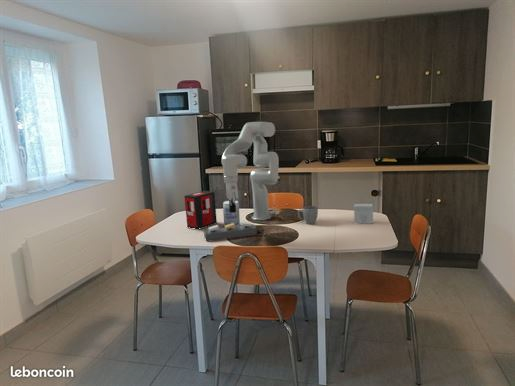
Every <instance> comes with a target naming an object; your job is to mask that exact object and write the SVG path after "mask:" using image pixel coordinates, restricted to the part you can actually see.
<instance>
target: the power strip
mask: <svg viewBox="0 0 515 386" xmlns="http://www.w3.org/2000/svg"><path fill="white" fill-rule="evenodd" d="M264 230H265V229H264V228H259V229H257V227H256V225H254V223H251V226H242V225H239V226H235V227H232V228H229V229H226V228H225V227H219V229H216V230H213V231H209V229H205V230H203V236H204V240H205V239H206V240H205V241H206V242H210V241H209V240H214V241H219V240H220V241H221V240H228V239H227V238H229V239H235V238H234V237H236V238H243V237H250V236H257V235H258V233H259V232H264Z"/></svg>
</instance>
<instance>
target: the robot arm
mask: <svg viewBox="0 0 515 386" xmlns="http://www.w3.org/2000/svg"><path fill="white" fill-rule="evenodd" d="M275 133H276V127H275V124H274V123H272V122H268V121H251V122H246V123H245V124H244V125H243V127H242V128H241V132H240V134H239V136H238V138H237V139H236V140H235V141H233V142H232V143H230V144H229V145H228V146H227V147H226V148H225V150H224V152H223V154H222V156H221V159H220V160H221V162H220V163H221V165H222V169H223V170H222V171H223V183H225V190H226V191H225V193H226V199H228V201H229V209H230V213H233V212H236V205H235V201H239V199H240V198H239V188H238V182H239V177H238V176H239V174H238V169H242V168H245V167H246V166H247V164H248V158H247V157H246V156H245V154H241V153H240V152H243V151H246V150H249V149H250V148H251V146H252V145H253V157H252V158H253V159H252V160H253V165H254V166H255V167H258V168H257V169H256V168H255V169H252V171H250V175H249V177H250V179H249V180H250V182H251V189H252V204H253V215H252V216H251V219H252V220H253V221H268V220H271V218H272V215H276V214H277V211H276V210H274V211H273V210H269V195H268V193H269V192H268V189H267V187H266V185H271V186H272V185H275V184H277V183H278V179H279V161H280V160H279V155H278V153H277V152H276V151H268V143H267V141H266V139H265V138H266V137H268V138H269V137H273V136H274V135H275ZM239 153H240V154H239ZM268 168H269V169H268ZM267 219H268V220H267Z"/></svg>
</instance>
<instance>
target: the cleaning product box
mask: <svg viewBox="0 0 515 386" xmlns="http://www.w3.org/2000/svg"><path fill="white" fill-rule="evenodd" d="M184 205H185V206H184V207H185V216H186V225H187V227H190V228H195V229H199V228H202V227H204V228H206V227H205V226H207V227H209V226H208V225H210V226H212V225H211V224H213V225H215V224H214V223H216V224H217V223H218V222H217V221H218V220H217V210H216V208H217V207H216V196H215V191H212V190H211V191H210V190H202V191H198V192H194V193H190V194H186V195H184ZM190 228H189V229H190ZM195 229H194V230H195ZM202 229H203V228H202ZM199 230H200V229H199Z"/></svg>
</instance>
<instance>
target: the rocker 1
mask: <svg viewBox="0 0 515 386" xmlns="http://www.w3.org/2000/svg"><path fill="white" fill-rule="evenodd" d="M219 228H220V227H219V225H218V224H216V225H215V224H214V225H213V226H212V225H211V226H210V227H209V226H208V227H207V230H209V231H213V230H216V229H219Z"/></svg>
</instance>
